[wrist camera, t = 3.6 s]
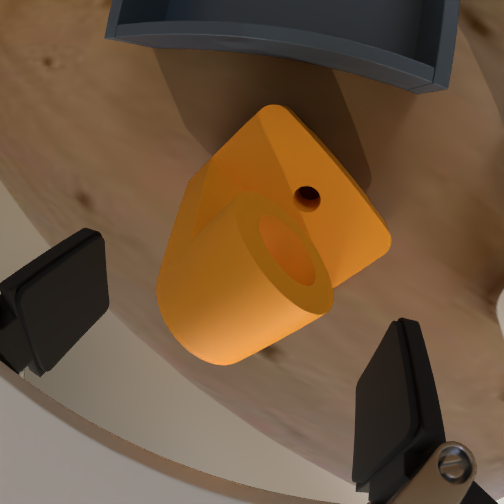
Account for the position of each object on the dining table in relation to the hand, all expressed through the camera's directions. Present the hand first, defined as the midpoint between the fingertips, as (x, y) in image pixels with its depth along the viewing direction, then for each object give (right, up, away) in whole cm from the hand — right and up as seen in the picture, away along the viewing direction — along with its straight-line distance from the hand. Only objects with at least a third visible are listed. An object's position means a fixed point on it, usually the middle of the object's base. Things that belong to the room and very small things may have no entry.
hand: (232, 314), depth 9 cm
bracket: (+4, +5, +11) cm, 13 cm away
